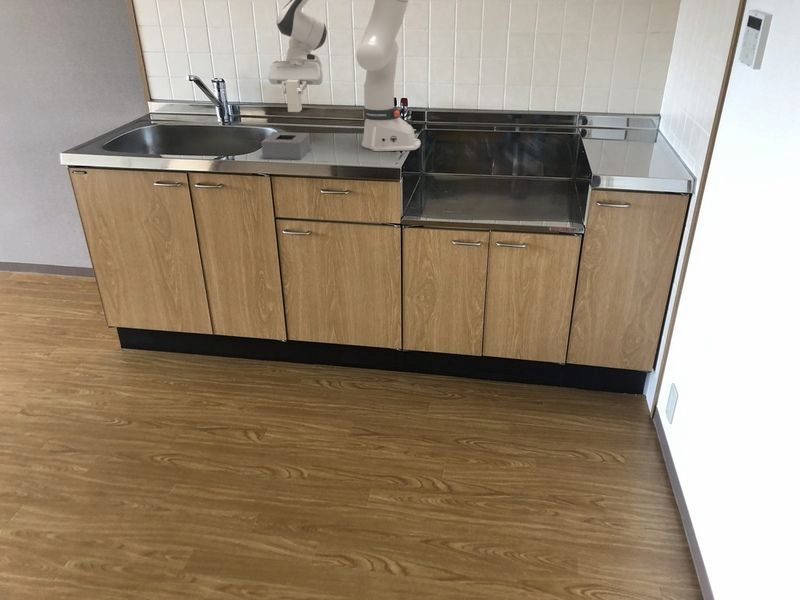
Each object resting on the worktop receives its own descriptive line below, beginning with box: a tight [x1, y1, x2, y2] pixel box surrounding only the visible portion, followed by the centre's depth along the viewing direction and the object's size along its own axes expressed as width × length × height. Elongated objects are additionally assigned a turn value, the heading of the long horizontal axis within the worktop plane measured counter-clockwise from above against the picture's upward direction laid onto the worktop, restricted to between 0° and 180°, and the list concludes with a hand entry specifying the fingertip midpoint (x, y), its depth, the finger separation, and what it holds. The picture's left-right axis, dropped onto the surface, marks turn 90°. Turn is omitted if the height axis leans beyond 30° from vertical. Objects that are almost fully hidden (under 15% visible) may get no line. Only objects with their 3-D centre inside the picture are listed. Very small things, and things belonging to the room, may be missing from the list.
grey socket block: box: [260, 131, 312, 161], centre depth 245 cm, size 14×14×6 cm
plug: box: [285, 80, 303, 113], centre depth 250 cm, size 4×4×11 cm
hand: (293, 93), depth 249 cm, fingers closed on plug, 4 cm apart
